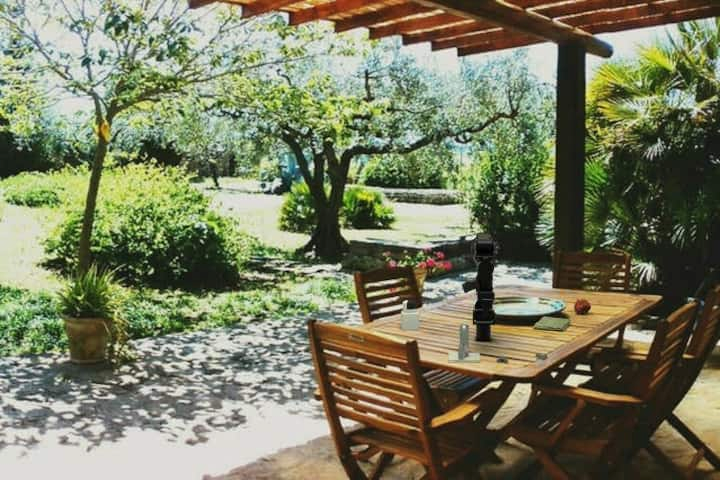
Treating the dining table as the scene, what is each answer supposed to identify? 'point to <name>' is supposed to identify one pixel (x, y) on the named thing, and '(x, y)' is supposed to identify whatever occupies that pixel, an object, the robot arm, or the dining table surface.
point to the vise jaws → (502, 359)
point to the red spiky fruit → (582, 306)
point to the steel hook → (464, 342)
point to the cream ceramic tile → (472, 358)
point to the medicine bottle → (410, 316)
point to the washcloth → (552, 324)
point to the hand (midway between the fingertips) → (485, 314)
